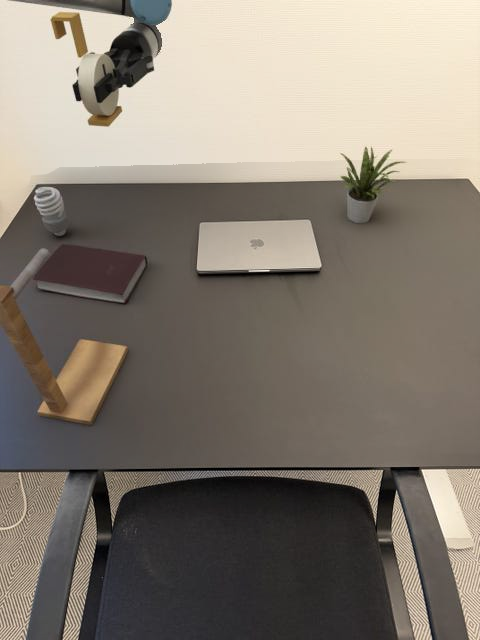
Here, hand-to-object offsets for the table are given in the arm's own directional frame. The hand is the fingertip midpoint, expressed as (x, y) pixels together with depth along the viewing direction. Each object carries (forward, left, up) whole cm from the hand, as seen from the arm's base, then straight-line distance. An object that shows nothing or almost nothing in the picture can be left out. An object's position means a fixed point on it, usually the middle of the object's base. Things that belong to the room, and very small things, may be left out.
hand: (86, 94), depth 81 cm
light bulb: (-15, -5, -33) cm, 36 cm away
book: (+2, -12, -33) cm, 35 cm away
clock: (-4, +4, -7) cm, 9 cm away
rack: (+20, -32, -32) cm, 50 cm away
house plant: (+42, +36, -33) cm, 65 cm away
